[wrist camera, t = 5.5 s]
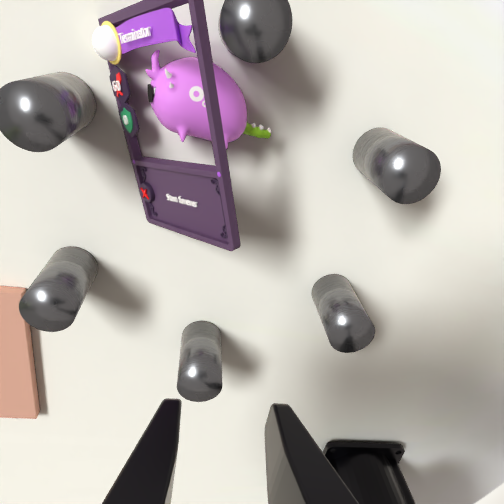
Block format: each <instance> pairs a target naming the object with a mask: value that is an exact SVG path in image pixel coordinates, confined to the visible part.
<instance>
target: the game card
mask: <svg viewBox="0 0 504 504" xmlns="http://www.w3.org/2000/svg"><path fill="white" fill-rule="evenodd" d="M186 3H189V9H190V15H191V21H192V25H190V26H184V25H181V24H179V23H178V21H177V19H176V17H175V14H174V12H173V10H172V8H175V7H178V6H181V5H184V4H186ZM98 21H99V25H100V27H98V28H97V29H96V30H95V31H94V33H93V37H92V44H93V47H94V50H95V51H96V53H97V54H98V55H99V56H100V57H101V58H103V59H105V60H107V61H108V65H109V69H110V81H111V85H112V88H113V92H114V96H115V97H116V101H117V105H118V109H119V115H120V119H121V123H122V127H123V130H124V134H125V138H126V141H127V145H128V149H129V153H130V157H131V160H132V164H133V168H134V172H135V176H136V180H137V183H138V187H139V191H140V195H141V199H142V203H143V206H144V210H145V214H146V218H147V220H148V222H149V223H152V224H155V225H158V226H160V227H163V228H166V229H169V230H172V231H175V232H177V233H180V234H183V235H186V236H189V237H192V238H195V239H197V240H200V241H203V242H206V243H209V244H212V245H215V246H217V247H220V248H223V249H226V250H229V251H233V250H235V249H237V248H239V247H240V238H239V231H238V225H237V218H236V212H235V205H234V199H233V192H232V186H231V179H230V172H229V166H228V159H227V153H226V149H227V148H228V142H232V141H234V140H236V139H238V138H239V137H240V136H241V134H246V135H250V136H255V137H257V138H267V139H268V138H270V136H271V131H272V130H271V131H270V128H269V127H268V129H267V130H264V129H263V128H264V127H262V125H260V124H259V126H258V127H256V125H255V123H254V122H253V123H252V124H249V123H248V122H247V109H246V103H245V99H244V97H243V94H242V92H241V90H240V88H239V87H238V85H237V84H236V82H235V81H234V80H233V79H232V78H231V77H230V76H229V75H228V74H227V73H226V72H225V71H224V70H223V69H221V68H220V67H219V66H217V65H216V64H214V63H213V61H212V55H211V48H210V42H209V35H208V29H207V22H206V15H205V9H204V2H203V0H143V1H140V2H138V3H136V4H133V5H131V6H128V7H126V8H124V9H121V10H119V11H116V12H114V13H112V14H109V15H107V16H105V17H102V18H100V19H98ZM192 27H193V33H194V39H195V45H196V51H197V56H198V58H196V57H187V58H182V59H178V60H175V61H172V62H170V63H168V64H166V65H165V66H163V67H162V68H160V66H159V61H158V57H159V52H160V51H159V50H156V51H155V52H154V53H153V54H152V57H151V62H152V70H149V69H146V73H147V75H148V76H149V77H150V78H152V81H151V84H148V99H149V102H150V103H151V106H152V108H153V110H154V112H155V114H156V116H157V118H158V119H159V121H160V122H161V123H162V124H163V125H164V126H165V127H166V128H167V129H169V130H170V131H173V132H176V133H178V135H180V138H181V141H182V142H184V140H185V137H186V135H189V136H194V137H198V138H202V139H206V140H209V141H212V146H213V152H214V158H215V164H216V166H213V165H205V164H197V163H189V162H181V161H174V160H166V159H158V158H150V157H143V156H142V155H141V151H140V147H139V143H138V139H137V135H136V134H137V132H138V130H139V125H138V121H137V117H136V113H135V110H134V109H133V108H132V107H131V106H130V105H129V103H128V99H129V97H130V95H131V92H130V88H129V84H128V80H127V76H126V74H125V73H124V72H123V71H122V70H121V69H120V68H119V67H117V66H116V64H118V63H119V62H120V60H121V55H122V54H124V53H127V52H129V51H131V50H133V49H136V48H139V47H143V46H148V45H153V44H158V43H163V42H168V41H178V42H179V44H180V45H181V46H182V47H183V48H184V49H186V50H188V51H191V52H194V53H196V51H195V49H194V47H193V45H192V44H191V42H190V40H189V36H190V33H191V30H192ZM260 126H261V127H260Z"/></svg>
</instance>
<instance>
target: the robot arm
mask: <svg viewBox="0 0 504 504" xmlns="http://www.w3.org/2000/svg"><path fill="white" fill-rule="evenodd" d="M180 416H181V400H180V399H164V400H163V401H162V403H161V405H160V406H159V408H158V410H157V411H156V413H155V415H154V416H153V418H152V420H151V421H150V423H149V425H148V427H147V428H146V430H145V432H144V433H143V435H142V437H141V438H140V440H139V442H138V444H137V445H136V447H135V449H134V450H133V452H132V454H131V455H130V457H129V459H128V460H127V462H126V464H125V466H124V467H123V469H122V471H121V472H120V474H119V476H118V477H117V479H116V481H115V483H114V484H113V486H112V488H111V489H110V491H109V493H108V494H107V496H106V498H105V499H104V501H103V503H102V504H170V503H171V496H172V489H173V481H174V474H175V466H176V459H177V451H178V443H179V430H180ZM265 452H266V472H267V492H268V504H415V502H414V499H413V497H412V495H411V492H410V490H409V488H408V486H407V483H406V481H405V479H404V477H403V474H402V472H401V470H400V467H399V465H398V463H399V461H400V459H401V458H402V456H403V454H404V452H405V451H404V448H403V446H402V445H401V444H386V443H353V442H330V443H328V444H326V446H325V448H324V451H323V452H322V451H321V449H320V448H319V447H318V445H317V444H316V442H315V441H314V439H313V438H312V437H311V435H310V434H309V432H308V431H307V430H306V428H305V427H304V425H303V424H302V423H301V421H300V420H299V418H298V417H297V415H296V414H295V413H294V411H293V410H292V408H291V407H290V406H289V405H288V404H277V403H274V404H272V406H271V408H270V411H269V415H268V418H267V422H266V425H265Z"/></svg>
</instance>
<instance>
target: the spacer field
mask: <svg viewBox="0 0 504 504" xmlns="http://www.w3.org/2000/svg"><path fill="white" fill-rule="evenodd" d="M218 27H219V34H220V37H221V40H222V42H223V44H224V45H225V47H226V48H227V49H228V50H229V51H230V52H231V53H232V54H234V55H235V56H237V57H239V58H240V59H242V60H244V61H247V62H251V63H261V62H265V61H268V60H270V59H272V58H274V57H275V56H277V55H278V54H279V53H280V52H281V51H282V50H283V48H284V47H285V45H286V43H287V42H288V39H289V37H290V33H291V29H292V13H291V8H290V5H289V2H288V0H225V2H224V4H223V7H222V10H221V13H220V16H219V23H218ZM95 110H96V104H95V99H94V96H93V93H92V91H91V90H90V88H89V87H88V85H87V84H86V83H85V82H84V81H83V80H81V79H80V78H79V77H77V76H75V75H73V74H70V73H66V72H57V73H52V74H47V75H42V76H37V77H33V78H28V79H23V80H19V81H14V82H11V83H8V84H6V85H4V86H3V87H2V88H1V89H0V131H1V132H2V133H3V135H4V136H5V137H6V138H7V139H8V140H9V141H11V142H12V143H13V144H15V145H16V146H18V147H20V148H22V149H25V150H28V151H32V152H44V151H48V150H51V149H53V148H55V147H56V146H58V145H59V144H61V143H62V142H64V141H65V140H66V139H68V138H69V137H71V136H72V135H74V134H75V133H77V132H78V131H79V130H81V129H82V128H84V127H85V126H87V125H88V124H89V123H90V122H91V121H92V119H93V117H94V115H95ZM353 161H354V164H355V166H356V168H357V169H358V170H359V171H360V172H361V173H362V174H364V175H365V176H366V177H367V178H368V179H369V180H370V181H371V182H373V183H374V184H375V185H376V186H377V187H378V188H379V189H380V190H382V191H383V192H384V193H385V194H386V195H387V196H388V197H389V198H391V199H392V200H393V201H395V202H397V203H401V204H410V203H414V202H417V201H420V200H421V199H423V198H425V197H426V196H427V195H428V194H430V192H431V191H432V190H433V189H434V188H435V186H436V184H437V182H438V180H439V177H440V172H441V166H440V162H439V159H438V157H437V156H436V155H435V154H434V153H433V152H432V151H430V150H429V149H427V148H425V147H423V146H421V145H419V144H417V143H415V142H413V141H411V140H409V139H407V138H405V137H403V136H401V135H399V134H397V133H395V132H393V131H391V130H389V129H386V128H374V129H371V130H369V131H367V132H366V133H364V134H363V135H362V136H361V137H360V138H359V139H358V141H357V142H356V144H355V147H354V150H353ZM97 271H98V266H97V262H96V260H95V258H94V257H93V256H92V255H91V254H90V253H89V252H87V251H86V250H84V249H81V248H78V247H71V246H70V247H64V248H61V249H59V250H57V251H56V252H55V253H54V254H53V256H52V257H51V259H50V260H49V261H48V263H47V264H46V265H45V267H44V268H43V269H42V271H41V272H40V274H39V275H38V276H37V278H36V279H35V280H34V282H33V283H32V284H31V286H30V287H29V289H28V290H27V291H26V293H25V294H24V295H23V297H22V298H21V300H20V302H19V312H20V314H21V316H22V318H23V319H24V320H25V321H26V322H27V323H28V324H29V325H31V326H32V327H34V328H36V329H39V330H42V331H48V332H56V331H61V330H64V329H66V328H68V327H69V326H70V325H71V324H72V323H73V321H74V319H75V317H76V315H77V313H78V311H79V309H80V307H81V305H82V303H83V301H84V299H85V297H86V295H87V293H88V291H89V289H90V287H91V285H92V282H93V280H94V278H95V276H96V274H97ZM312 298H313V301H314V303H315V306H316V308H317V311H318V313H319V316H320V319H321V321H322V324H323V326H324V329H325V331H326V334H327V336H328V339H329V342H330V344H331V346H332V347H333V348H334V349H336V350H337V351H340V352H345V353H350V352H355V351H358V350H361V349H363V348H364V347H366V346H367V345H368V344H369V343H370V342H371V341H372V339H373V337H374V334H375V327H374V325H373V323H372V321H371V320H370V318H369V316H368V314H367V313H366V311H365V309H364V307H363V306H362V304H361V302H360V300H359V299H358V297H357V295H356V293H355V291H354V290H353V288H352V286H351V284H350V283H349V281H348V280H347V279H346V278H345V277H344V276H342V275H338V274H331V275H326V276H324V277H322V278H320V279H319V280H318V281H317V282H316V283H315V284H314V286H313V288H312ZM221 389H222V361H221V333H220V330H219V329H218V327H217V326H216V325H214V324H212V323H210V322H207V321H196V322H193V323H191V324H189V325H188V326H187V327H185V329H184V330H183V333H182V340H181V351H180V361H179V371H178V381H177V390H178V392H179V394H180V395H181V396H182V397H184V398H185V399H187V400H190V401H195V402H203V401H208V400H210V399H213V398H214V397H216V396H217V395H218V394H219V393H220V391H221Z"/></svg>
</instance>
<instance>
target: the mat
mask: <svg viewBox="0 0 504 504" xmlns="http://www.w3.org/2000/svg"><path fill="white" fill-rule="evenodd" d="M25 293H26V288H19V287H8V286H0V417H2V418H30V419H36V418H37V416H38V414H39V412H40V408H39V399H38V391H37V382H36V373H35V365H34V356H33V348H32V339H31V331H30V325H29V324H28V323H27V322H26V321H25V320H24V319H23V318H22V316H21V314H20V312H19V302H20V300H21V298H22V297H23V295H24V294H25Z"/></svg>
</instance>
